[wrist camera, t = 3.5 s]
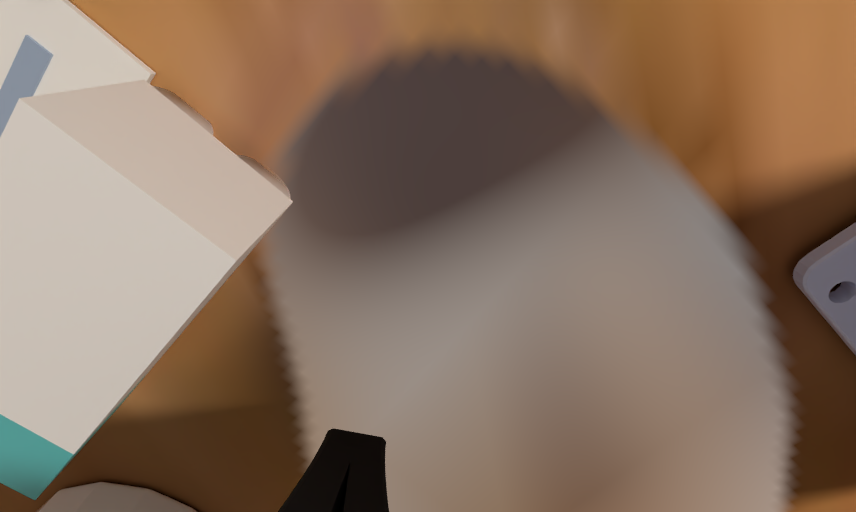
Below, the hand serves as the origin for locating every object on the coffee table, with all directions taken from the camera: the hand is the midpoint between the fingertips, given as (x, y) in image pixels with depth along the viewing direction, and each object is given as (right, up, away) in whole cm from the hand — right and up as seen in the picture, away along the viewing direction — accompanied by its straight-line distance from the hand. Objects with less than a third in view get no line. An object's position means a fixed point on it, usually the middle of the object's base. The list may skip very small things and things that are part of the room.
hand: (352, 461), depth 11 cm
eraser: (-5, +5, 0) cm, 7 cm away
